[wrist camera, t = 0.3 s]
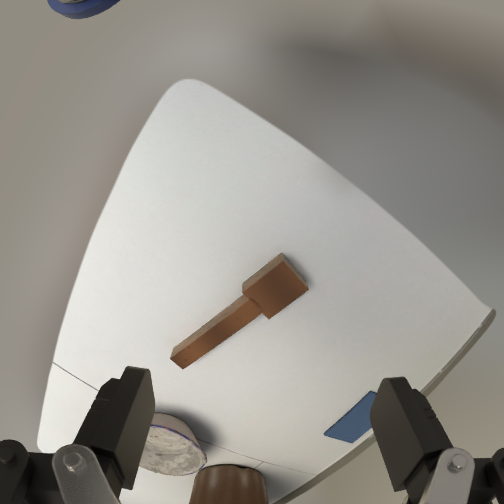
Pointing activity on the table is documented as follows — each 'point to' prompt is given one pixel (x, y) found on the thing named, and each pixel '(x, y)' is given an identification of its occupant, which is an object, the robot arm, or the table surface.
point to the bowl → (171, 448)
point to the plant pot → (229, 486)
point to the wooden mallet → (245, 309)
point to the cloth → (353, 421)
